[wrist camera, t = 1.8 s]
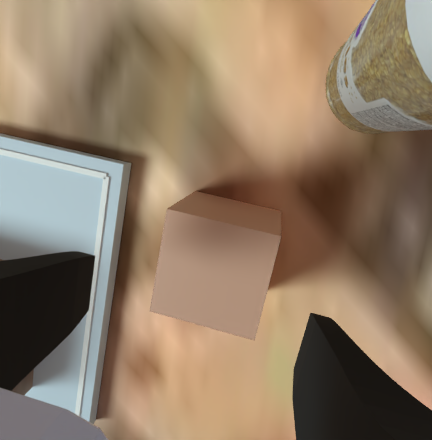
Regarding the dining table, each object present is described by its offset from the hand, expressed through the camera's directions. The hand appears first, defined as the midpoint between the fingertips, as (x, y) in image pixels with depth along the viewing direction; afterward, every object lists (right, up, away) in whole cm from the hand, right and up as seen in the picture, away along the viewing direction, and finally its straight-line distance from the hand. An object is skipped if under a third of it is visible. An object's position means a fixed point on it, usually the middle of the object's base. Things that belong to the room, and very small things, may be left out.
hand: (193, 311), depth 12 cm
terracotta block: (+1, +2, +8) cm, 8 cm away
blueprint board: (-12, 0, +11) cm, 16 cm away
